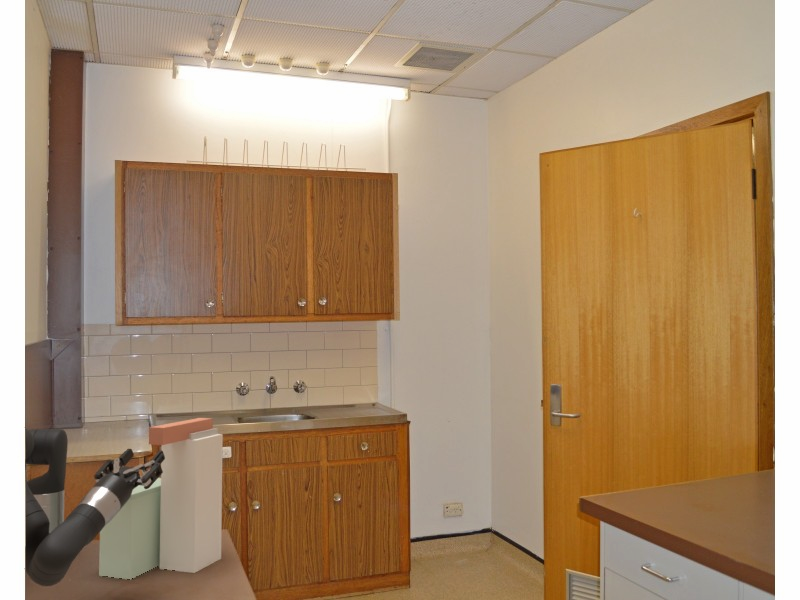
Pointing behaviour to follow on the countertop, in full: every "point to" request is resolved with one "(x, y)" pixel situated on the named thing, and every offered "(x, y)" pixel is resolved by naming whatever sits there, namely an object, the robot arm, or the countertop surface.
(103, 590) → the countertop surface
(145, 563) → the pale mint green block
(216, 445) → the stand
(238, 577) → the countertop surface
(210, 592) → the countertop surface
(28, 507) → the robot arm
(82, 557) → the countertop surface
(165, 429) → the long salmon orange block
